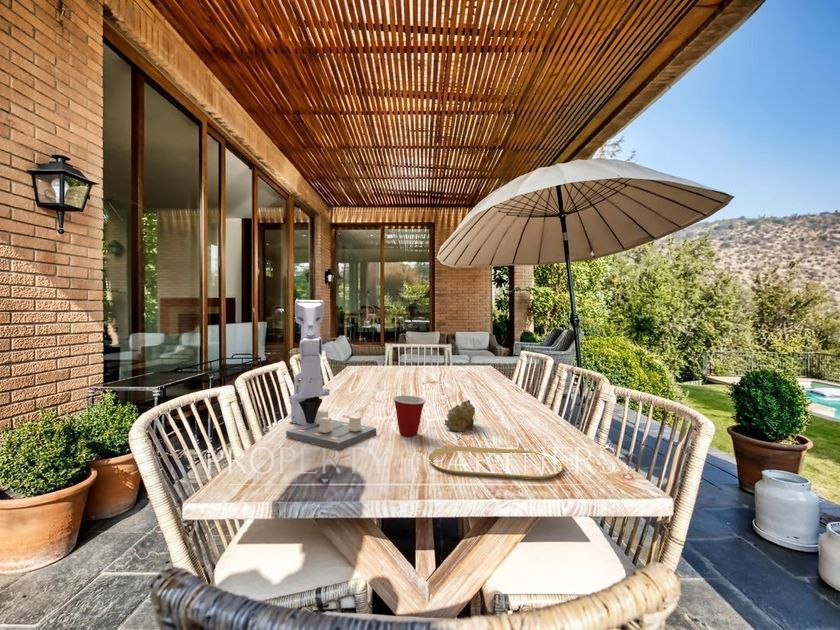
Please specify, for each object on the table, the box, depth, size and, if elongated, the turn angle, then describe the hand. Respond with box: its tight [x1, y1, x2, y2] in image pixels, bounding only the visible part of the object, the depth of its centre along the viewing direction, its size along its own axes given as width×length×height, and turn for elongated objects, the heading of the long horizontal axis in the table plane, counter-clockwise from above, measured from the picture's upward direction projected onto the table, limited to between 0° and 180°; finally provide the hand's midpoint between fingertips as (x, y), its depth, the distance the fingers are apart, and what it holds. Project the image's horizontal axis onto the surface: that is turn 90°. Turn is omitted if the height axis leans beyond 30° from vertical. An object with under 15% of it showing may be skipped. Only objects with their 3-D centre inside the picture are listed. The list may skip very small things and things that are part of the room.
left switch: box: [316, 409, 329, 424], centre depth 138 cm, size 3×3×4 cm
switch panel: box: [285, 419, 377, 451], centre depth 132 cm, size 22×18×2 cm
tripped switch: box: [318, 417, 333, 433], centre depth 129 cm, size 3×3×4 cm
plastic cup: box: [393, 395, 427, 438], centre depth 135 cm, size 11×11×12 cm
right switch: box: [348, 415, 362, 432], centre depth 131 cm, size 3×3×4 cm
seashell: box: [444, 399, 476, 433], centre depth 145 cm, size 11×14×10 cm
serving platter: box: [428, 445, 564, 480], centre depth 109 cm, size 19×35×2 cm, turn 82°
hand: (310, 423), depth 124 cm, fingers closed
